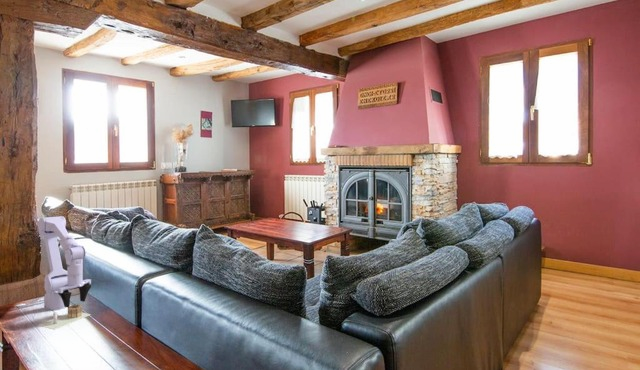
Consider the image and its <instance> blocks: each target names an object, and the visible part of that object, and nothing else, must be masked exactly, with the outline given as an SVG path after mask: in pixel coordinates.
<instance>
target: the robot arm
mask: <svg viewBox="0 0 640 370" xmlns="http://www.w3.org/2000/svg"><path fill="white" fill-rule="evenodd" d="M66 226H67V221H66V217H64V216H63V215H59V216H58V215H57V216H49V217H46V216H45V217H40V218H39V219H38V221H37V229H38V234H39V237H42V238H43V240H44V245H45V251H46V255H47V260H48V261H47V262H48V266H49V273H48V274H46V275H45V277H44V279H43V280H44V284H43V285H44V290H45V293H44V298H43V308H44V309H49V310H51V311H59V310H63V309H65V308H68V307H70V305H71V300H70V299H71V296H72V292H71V291H72V290H74V289H77V288H78V290H79V299H80V302H83V303H84V302H86V300H87V297H88V296H87V295H88V293H89V292H90V289H91V288H92V279H91V278H90V279H89V278H86V279H84V274H83V273H84V272H83V271H84V269H83V267H84V265H83V264H84V262H83V261H84V260H83V259H85V258H86V253H87V252H86V249H85V246H83V245H81V244H78V242H77V241H76V239H75V237H74V236H72V235H70V234H69V232H68V231H67V228H66ZM58 239H59V242H58ZM59 245H60V246H61V248H62V249H63V251H64V258H65V263H66V265H67V270H66V269H64V268H63V263H62V258H61V253H60V248H59ZM70 290H71V291H70Z"/></svg>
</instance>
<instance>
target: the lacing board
mask: <svg viewBox="0 0 640 370" xmlns="http://www.w3.org/2000/svg"><path fill="white" fill-rule="evenodd" d="M91 315H92V314H90V313H86V312H82V316H80V317H78V318H77V317H76V318H68V313H66V314H63V315H60V316H58V313H57V312H56V311H55V312H53V314H52V316H53V317H52V319H49V320H47V321H44V322H42V323H38V324H37V326H38V327H42V328H46V329H50V330H55V331H56V329H60V328H62V327H64V326H66V325H69V324H72V323H75V322H77V321H79V320H82V319H84V318H86V317H89V316H91Z"/></svg>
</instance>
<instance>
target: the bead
mask: <svg viewBox="0 0 640 370" xmlns="http://www.w3.org/2000/svg"><path fill="white" fill-rule="evenodd" d="M82 313H83V306H82V305H81V304H75V305H71V306H69V307H67V314H68V318H76V317H77V318H78V317H80V316H82Z"/></svg>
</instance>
